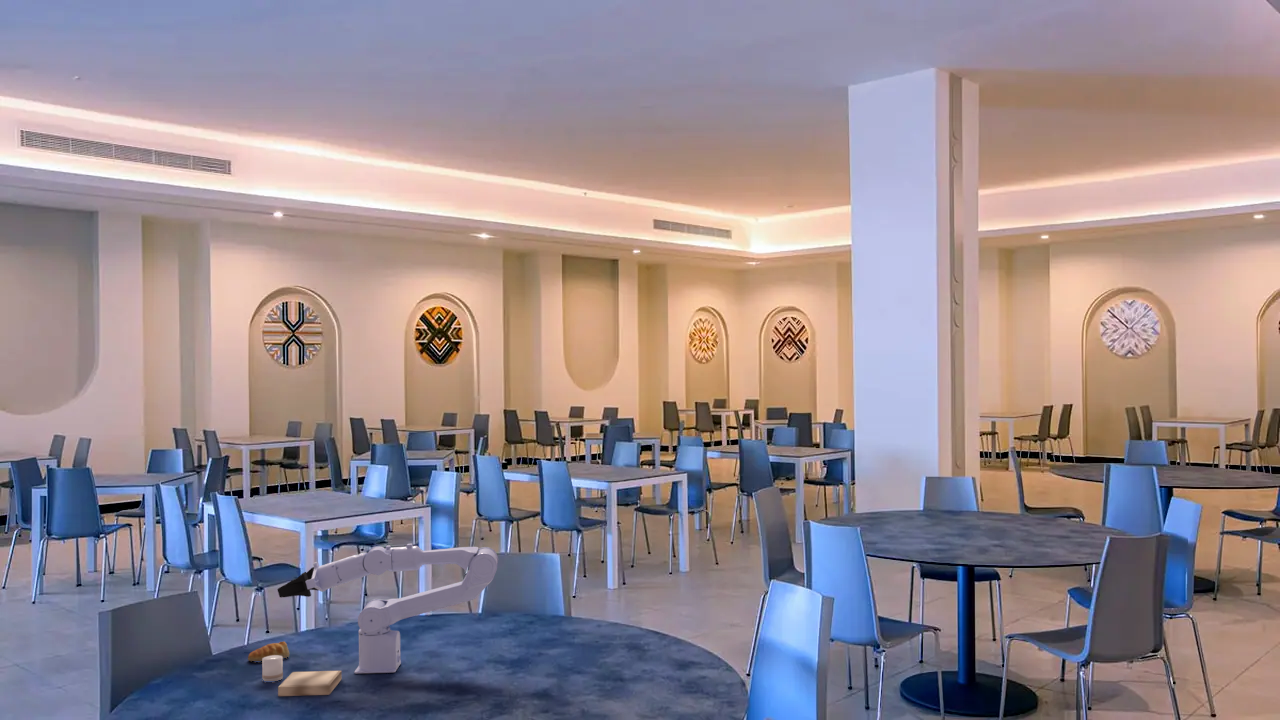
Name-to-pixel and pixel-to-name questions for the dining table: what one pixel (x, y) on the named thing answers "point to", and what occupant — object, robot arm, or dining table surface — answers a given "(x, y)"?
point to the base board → (310, 683)
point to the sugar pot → (272, 668)
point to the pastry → (269, 651)
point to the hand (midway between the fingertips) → (283, 590)
